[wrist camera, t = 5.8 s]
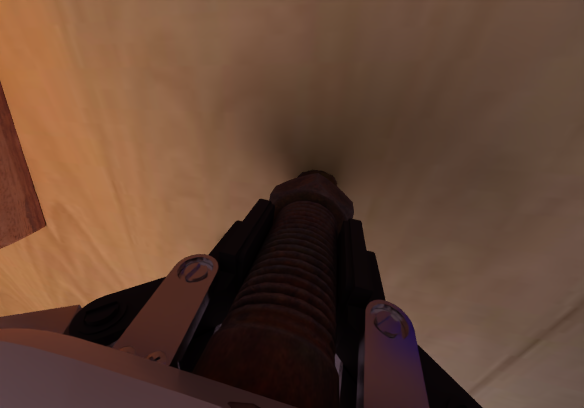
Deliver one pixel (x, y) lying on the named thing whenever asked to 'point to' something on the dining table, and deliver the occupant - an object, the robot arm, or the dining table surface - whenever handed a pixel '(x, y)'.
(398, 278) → the dining table surface
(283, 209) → the bolt
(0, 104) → the wooden box
